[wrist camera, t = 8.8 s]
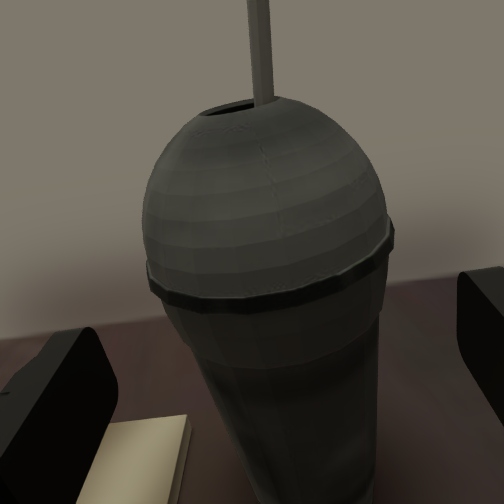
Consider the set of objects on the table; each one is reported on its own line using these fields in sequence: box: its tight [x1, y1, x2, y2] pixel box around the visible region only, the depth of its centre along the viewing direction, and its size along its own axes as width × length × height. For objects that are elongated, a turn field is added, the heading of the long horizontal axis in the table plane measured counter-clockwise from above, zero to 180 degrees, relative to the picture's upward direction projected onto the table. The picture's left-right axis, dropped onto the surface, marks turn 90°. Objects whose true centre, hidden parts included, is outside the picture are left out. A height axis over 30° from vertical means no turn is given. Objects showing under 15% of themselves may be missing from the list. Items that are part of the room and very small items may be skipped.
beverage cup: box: [142, 0, 395, 504], centre depth 13 cm, size 7×7×20 cm
